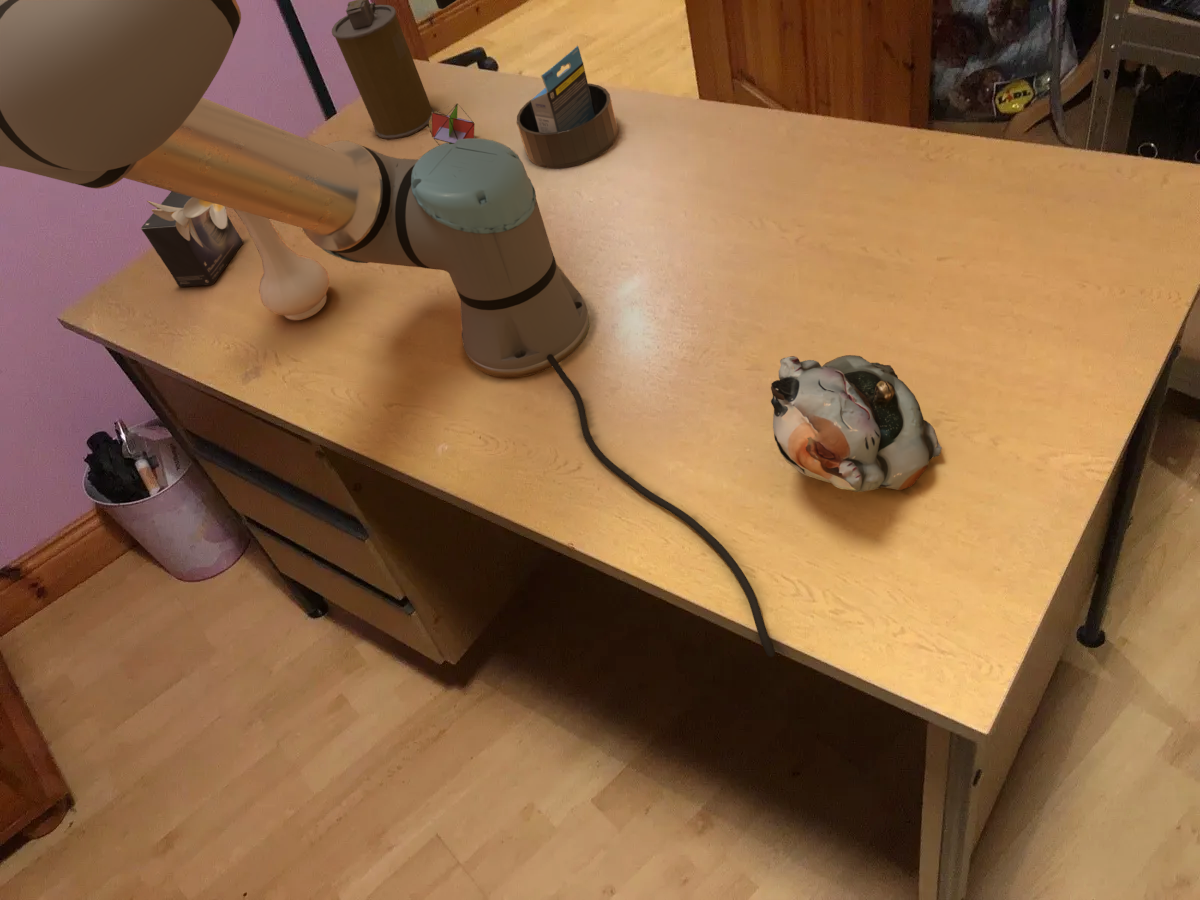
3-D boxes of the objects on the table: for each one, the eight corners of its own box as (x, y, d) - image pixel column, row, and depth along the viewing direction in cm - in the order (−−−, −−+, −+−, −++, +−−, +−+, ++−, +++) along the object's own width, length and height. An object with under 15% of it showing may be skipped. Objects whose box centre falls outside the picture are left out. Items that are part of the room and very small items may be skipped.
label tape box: (578, 120, 144) (557, 42, 135) (599, 123, 142) (579, 44, 133) (544, 152, 140) (520, 73, 131) (565, 156, 138) (542, 76, 129)
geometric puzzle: (492, 120, 147) (450, 85, 144) (480, 144, 142) (436, 109, 139) (468, 148, 152) (427, 115, 149) (455, 172, 147) (412, 139, 144)
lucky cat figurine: (962, 481, 84) (922, 437, 73) (841, 538, 89) (786, 505, 78) (893, 347, 91) (846, 288, 80) (783, 407, 96) (725, 359, 85)
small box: (215, 286, 137) (176, 225, 129) (178, 288, 139) (137, 229, 131) (246, 241, 143) (210, 181, 136) (210, 244, 145) (173, 185, 138)
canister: (430, 131, 154) (382, 9, 140) (371, 144, 156) (317, 25, 141) (438, 99, 161) (393, -20, 147) (381, 112, 163) (331, -5, 149)
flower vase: (226, 345, 126) (114, 183, 108) (315, 261, 135) (226, 99, 117) (292, 364, 119) (185, 196, 102) (381, 274, 129) (298, 105, 111)
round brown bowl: (637, 126, 140) (629, 92, 136) (573, 177, 134) (563, 142, 130) (571, 110, 148) (562, 76, 144) (508, 156, 143) (497, 123, 139)
